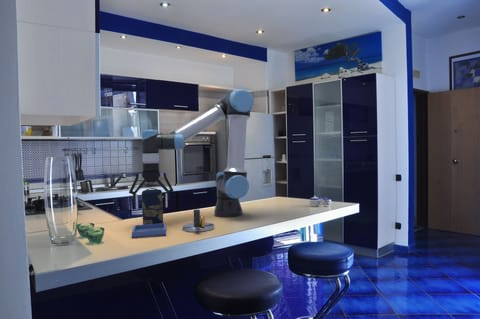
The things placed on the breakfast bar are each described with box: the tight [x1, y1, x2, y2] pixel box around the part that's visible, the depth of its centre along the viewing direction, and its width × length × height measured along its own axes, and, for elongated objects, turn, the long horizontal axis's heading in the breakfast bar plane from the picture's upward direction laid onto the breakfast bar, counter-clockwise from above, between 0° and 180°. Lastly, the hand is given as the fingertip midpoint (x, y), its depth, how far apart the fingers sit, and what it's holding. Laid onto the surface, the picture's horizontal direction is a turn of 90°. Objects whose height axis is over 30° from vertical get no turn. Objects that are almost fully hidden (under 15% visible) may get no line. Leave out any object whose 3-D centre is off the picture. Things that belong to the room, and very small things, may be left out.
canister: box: [141, 187, 164, 225], centre depth 175 cm, size 10×10×18 cm
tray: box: [131, 222, 167, 239], centre depth 159 cm, size 14×15×2 cm
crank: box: [193, 209, 201, 229], centre depth 161 cm, size 12×4×8 cm, turn 4°
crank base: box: [181, 215, 215, 233], centre depth 165 cm, size 14×14×6 cm
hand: (151, 207), depth 175 cm, fingers open, 13 cm apart
